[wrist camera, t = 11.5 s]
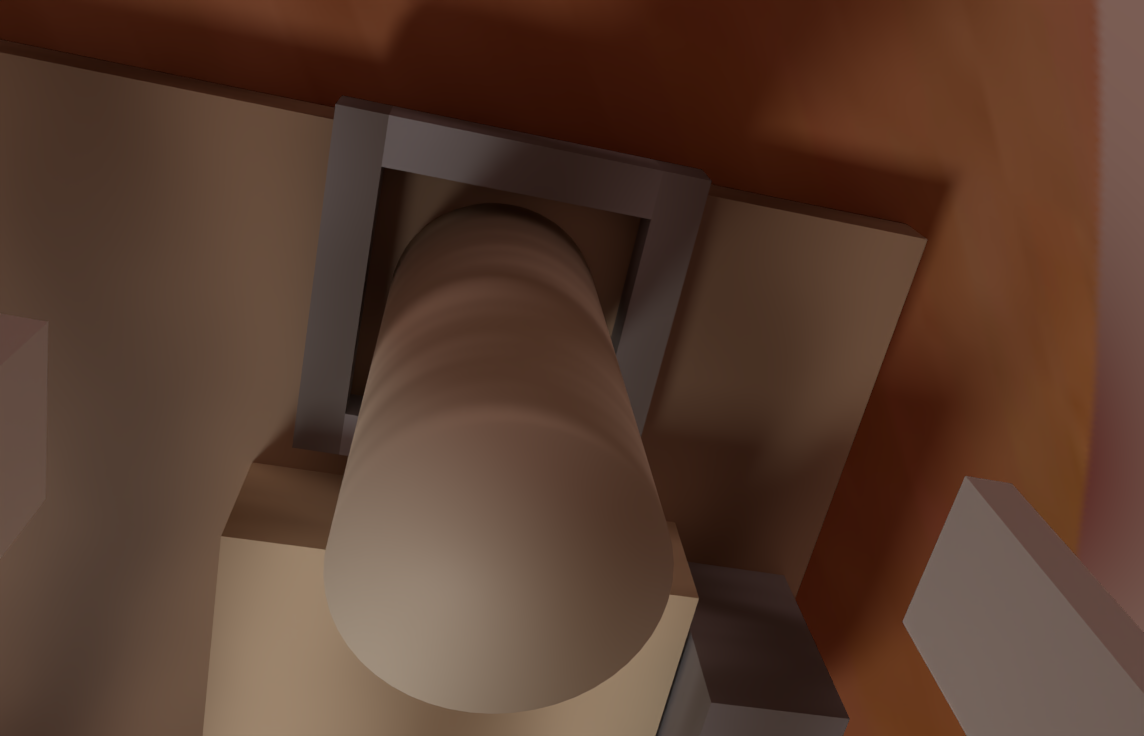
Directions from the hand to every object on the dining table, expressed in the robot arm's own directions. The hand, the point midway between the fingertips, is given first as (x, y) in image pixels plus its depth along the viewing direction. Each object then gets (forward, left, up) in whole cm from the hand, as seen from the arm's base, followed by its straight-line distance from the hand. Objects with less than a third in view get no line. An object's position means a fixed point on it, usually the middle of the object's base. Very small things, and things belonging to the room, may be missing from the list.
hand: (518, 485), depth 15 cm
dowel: (0, 0, -8) cm, 8 cm away
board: (-2, -8, -9) cm, 12 cm away
